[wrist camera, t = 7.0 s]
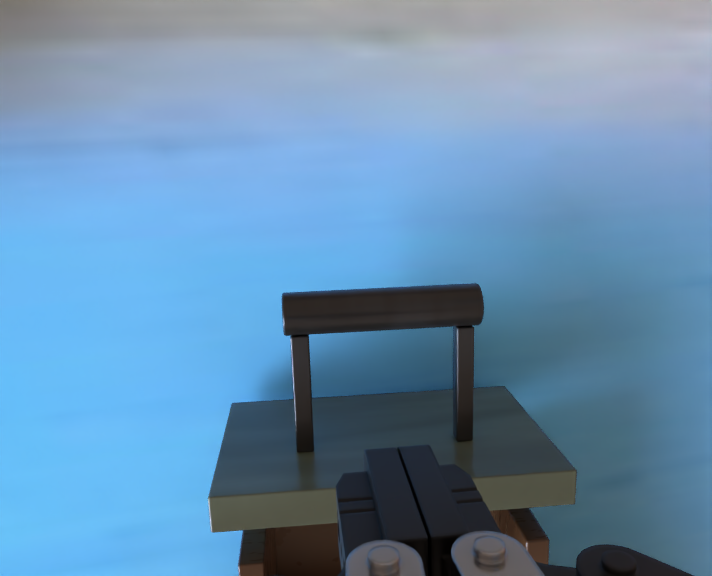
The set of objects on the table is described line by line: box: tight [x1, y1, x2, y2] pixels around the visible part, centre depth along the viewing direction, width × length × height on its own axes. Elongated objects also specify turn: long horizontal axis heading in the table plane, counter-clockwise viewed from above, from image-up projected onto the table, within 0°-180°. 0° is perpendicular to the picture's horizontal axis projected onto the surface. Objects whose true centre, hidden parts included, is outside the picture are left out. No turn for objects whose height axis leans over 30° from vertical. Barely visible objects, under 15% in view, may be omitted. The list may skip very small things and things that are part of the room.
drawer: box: [208, 283, 577, 576], centre depth 24 cm, size 20×11×7 cm, turn 2°
